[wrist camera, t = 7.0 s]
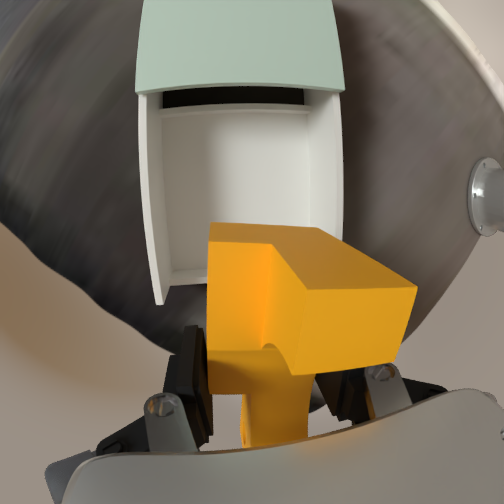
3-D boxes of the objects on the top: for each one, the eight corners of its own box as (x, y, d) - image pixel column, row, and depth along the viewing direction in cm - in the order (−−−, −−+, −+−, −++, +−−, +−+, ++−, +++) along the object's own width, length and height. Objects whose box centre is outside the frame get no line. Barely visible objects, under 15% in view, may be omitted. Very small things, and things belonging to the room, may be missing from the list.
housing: (297, -7, 21) (316, -39, 14) (312, 263, 30) (339, 288, 23) (164, -7, 19) (155, -42, 12) (168, 274, 28) (156, 304, 21)
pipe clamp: (210, 221, 11) (203, 287, 4) (317, 227, 11) (417, 286, 5) (210, 428, 14) (215, 521, 8) (282, 425, 14) (308, 512, 8)
